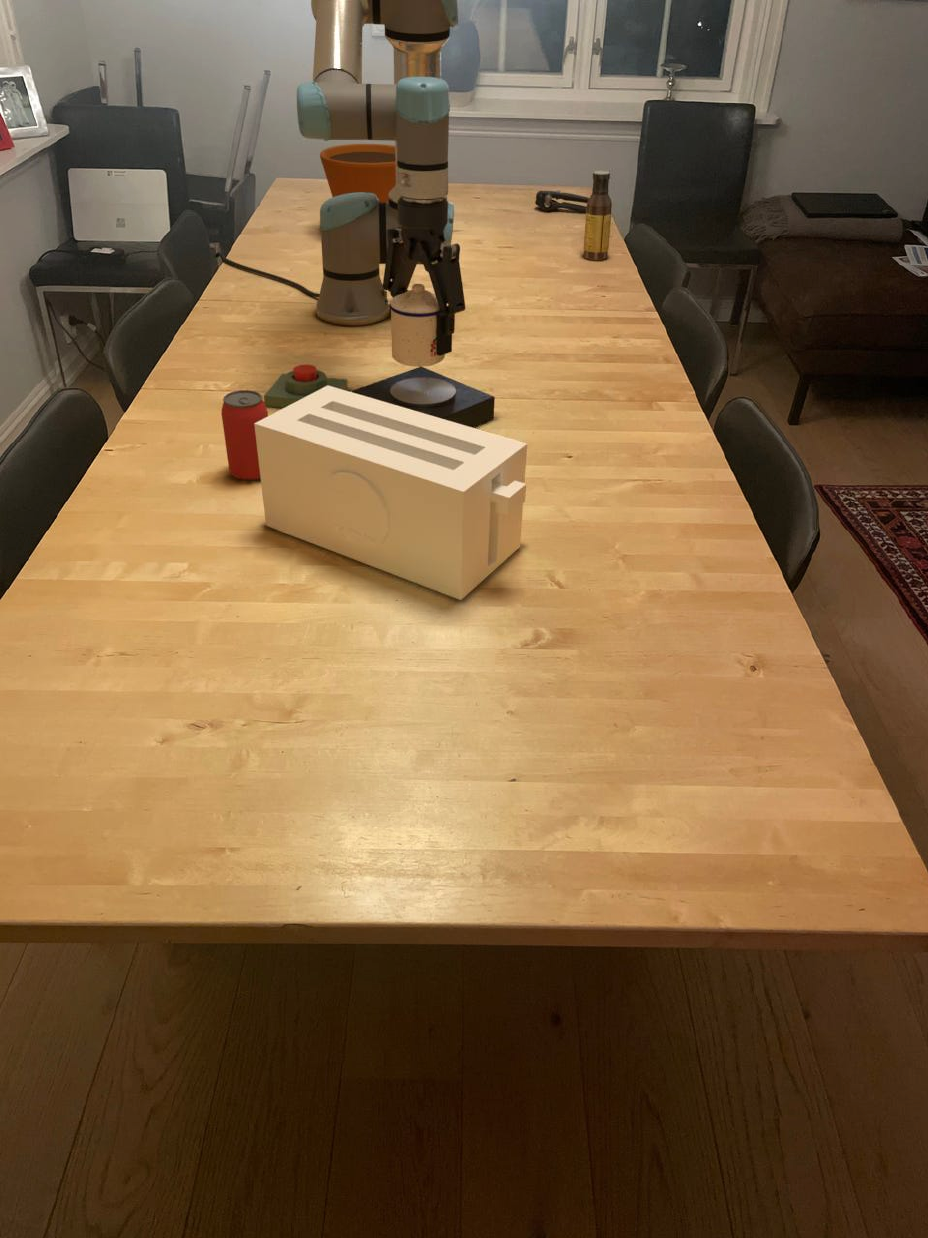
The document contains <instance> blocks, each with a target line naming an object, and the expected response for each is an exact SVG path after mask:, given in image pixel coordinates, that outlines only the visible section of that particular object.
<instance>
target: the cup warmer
mask: <svg viewBox="0 0 928 1238" xmlns="http://www.w3.org/2000/svg"><path fill="white" fill-rule="evenodd" d="M351 392H352V393H356V394H359V395H363V396H366V397H370V398H373V399H376V400H380V401H383V402H387V403H390V404H393V405H397V406H400V407H404V408H407V409H410V410H414V411H417V412H421V413H424V414H427V415H431V416H434V417H438V418H441V419H445V420H448V421H451V422H455V423H458V424H462V425H465V426H468V427H472V428H475V427H477V426H481V425H483V424H484V423H487V422H489V421H492V420H494V419H495V398H496V397H495V396H494V395H492V394H489V393H487V392H484V391H481V390H479V389H477V388H475V387H472V386H469V385H467V384H464V383H462V382H460V381H457V380H455V379H452V378H450V377H448V376H446V375H443V374H441V373H438V372H436V371H433V370H431V369H429V368H426V367H425V366H422V367H415V368H412V369H410V370H407V371H404V372H402V373H398V374H395V375H392V376H390V377H387V378H383V379H382V380H378V381H375V382H373V383H370V384H366V385H364V386H362V387H359V388H356V389H353V390H351Z"/></svg>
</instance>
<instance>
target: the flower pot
mask: <svg viewBox="0 0 928 1238" xmlns="http://www.w3.org/2000/svg"><path fill="white" fill-rule="evenodd" d="M319 157H320V162H321V165H322V167H323V171H324V174H325V177H326V181H327V183H328V187H329V190H330V193H331V196H332V197H331V198H333V197H336V196H339V195H343V194H349V193H357V192H365V193H373V194H375V195H376V196H377V198H378V202H389V197H388V195H389V192H390V191H391V190H392V189H393V188H394V187H395V185H396V159H395V145H391V144H382V143H379V144H378V143H352V144H351V143H350V144H349V143H348V144H342V145H341V144H340V145H334V146H330V147H327V148H324V149H323V150H321V151H320V154H319Z"/></svg>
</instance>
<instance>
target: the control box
mask: <svg viewBox="0 0 928 1238" xmlns="http://www.w3.org/2000/svg"><path fill="white" fill-rule="evenodd" d="M327 385H328V386H332V387H335V388H338V389H342V390H345V391H349V384H348V379H347V378H337V377H335V378H334V377H327V375H326V373H325V372H324V371H321V370H319V369H317V379H316V380H313V381H308V382H300V381H296V380H294V373H293V370H292V371H289V372H287V373H282V374H281V375H280V376H279V377H278V378H277V379H276V380H275V382H273V384H272V385H271V386H270V388H269V389H268V390H267V391H266V393H264V395H263V401H264V403H265V406H266V408H267V407H268V408H275V409H276V408H277V409H283V408H285V407H287V406H289V405H291V404H293V403H295V402H297V401H299V400H300V399H302V398H304V397H306V396H308V395H310V394H312V393H314V392H316V391H318V390H320V389H322V388H324V387H326V386H327Z"/></svg>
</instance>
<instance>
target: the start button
mask: <svg viewBox="0 0 928 1238" xmlns="http://www.w3.org/2000/svg"><path fill="white" fill-rule="evenodd" d="M317 370H318V369H317V367H316V366H315V365H312V364H299V365H296V366H294V367H293V368H292V371H293V373H294V380H296V381H300V382H308V381H313V380H316V379H317Z"/></svg>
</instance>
